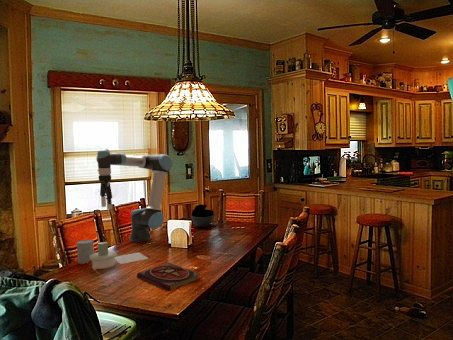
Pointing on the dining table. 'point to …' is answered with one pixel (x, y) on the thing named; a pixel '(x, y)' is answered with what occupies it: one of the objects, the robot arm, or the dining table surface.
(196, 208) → the bowl of black rocks
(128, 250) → the dining table surface
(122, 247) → the dining table surface
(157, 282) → the book
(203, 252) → the dining table surface
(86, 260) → the grey cylindrical piece
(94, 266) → the ceramic bowl
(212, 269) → the dining table surface
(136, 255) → the grey mat
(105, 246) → the sage lid
